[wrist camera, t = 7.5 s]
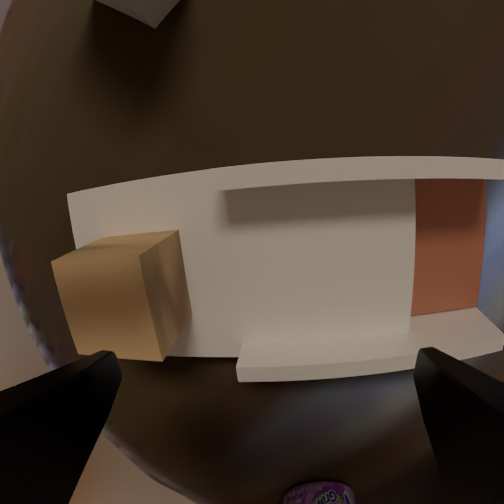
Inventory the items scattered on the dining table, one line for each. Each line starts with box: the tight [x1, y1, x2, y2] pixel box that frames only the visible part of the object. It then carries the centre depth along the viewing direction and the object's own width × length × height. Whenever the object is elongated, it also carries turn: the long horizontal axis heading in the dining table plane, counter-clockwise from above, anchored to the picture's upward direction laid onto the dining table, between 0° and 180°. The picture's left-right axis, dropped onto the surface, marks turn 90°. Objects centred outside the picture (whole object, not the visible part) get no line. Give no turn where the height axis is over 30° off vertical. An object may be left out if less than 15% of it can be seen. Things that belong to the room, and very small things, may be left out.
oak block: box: [51, 230, 192, 361], centre depth 16 cm, size 5×5×5 cm
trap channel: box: [67, 156, 504, 382], centre depth 17 cm, size 11×26×4 cm, turn 96°
